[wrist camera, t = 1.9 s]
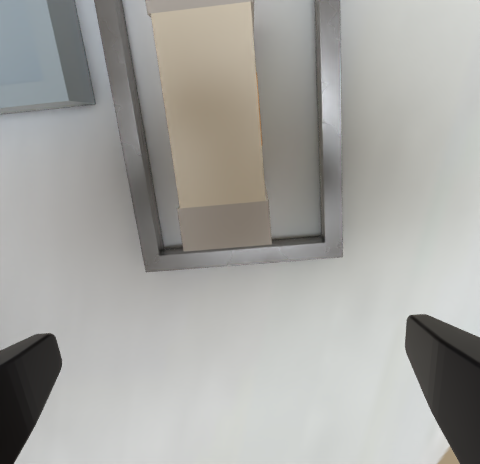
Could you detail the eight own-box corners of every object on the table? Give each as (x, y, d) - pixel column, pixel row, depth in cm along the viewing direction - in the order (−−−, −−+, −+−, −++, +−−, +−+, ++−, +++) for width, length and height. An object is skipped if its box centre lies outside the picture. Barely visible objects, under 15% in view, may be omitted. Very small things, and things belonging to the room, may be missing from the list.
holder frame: (151, 264, 23) (145, 272, 21) (94, -45, 18) (83, -57, 16) (337, 250, 22) (342, 257, 21) (333, -77, 17) (339, -92, 16)
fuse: (210, 200, 21) (183, 251, 13) (190, 31, 19) (137, -50, 10) (263, 195, 21) (271, 244, 12) (250, 24, 18) (249, -65, 10)
